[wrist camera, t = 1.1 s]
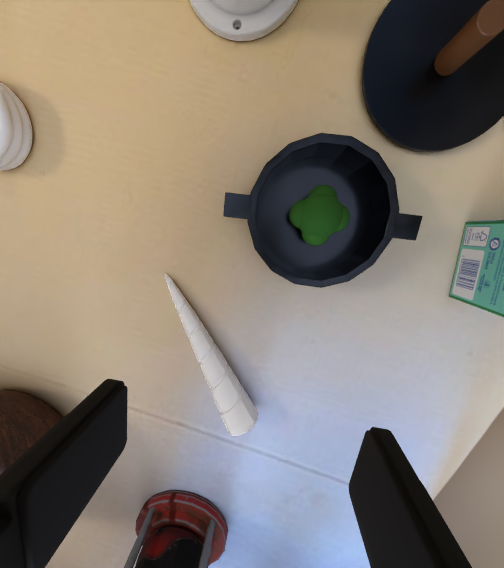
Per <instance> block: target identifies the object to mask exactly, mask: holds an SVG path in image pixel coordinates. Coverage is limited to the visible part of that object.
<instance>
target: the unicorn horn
mask: <svg viewBox="0 0 504 568" xmlns="http://www.w3.org/2000/svg"><path fill="white" fill-rule="evenodd" d="M165 279H166V282H167V286H168V288H169V290H170V294H171V297H172V299H173V302H174V304H175V307H176V310H177V312H178V314H180V320H181V322H182V325H183V327H184V329H185V332H186V334H187V336H188V338H189V339H191V340H190V344H191V346H192V349H193V351H194V354H195V356H196V358H197V361H198V363H201V366H200V368H201V370H202V373H203V375H204V377H205V380H206V382H207V384H208V387H211V390H210V391H211V394H212V396H213V399H214V401H215V403H216V406H217V408H218V410H219V411H221V412H220V415H221V417H222V420H223V422H224V424H225V427H226V429H227V431H228V433H229V434H230V435H232V436H240V435H243V434H245V433H246V432H248V431H249V430H251V429H252V428H253V427H254V426H255V424H256V422H257V419H258V412H257V409H256V407H255V405H254V404H253V403H252V401H251V399H250V398H249V396H248V395H247V393H246V391H245V390H244V388H243V387H242V385H241V384H240V383H239V380H238V379H237V377H236V375H235V374H234V372H233V371H232V369H231V368H230V366H229V364H228V363H227V361H226V360H225V358H224V356H223V355H222V353H221V352H220V350H219V349H218V347H217V345H216V344H215V342H213V339H212V338H211V336H210V335H209V333H208V332H207V330H206V328H205V327H204V325H203V324H202V322H201V321H200V320H199V318H198V316H197V315H196V313H195V312H194V310H193V309H192V307H191V306H190V304H189V303H188V301H187V300H186V299H185V297H184V296H183V294H182V293H181V291H180V290H179V289H178V287H177V286H176V284H175V283H174V282H173V280H172V279H171V278H169V276H168V275H167V274H166V273H165Z"/></svg>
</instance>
